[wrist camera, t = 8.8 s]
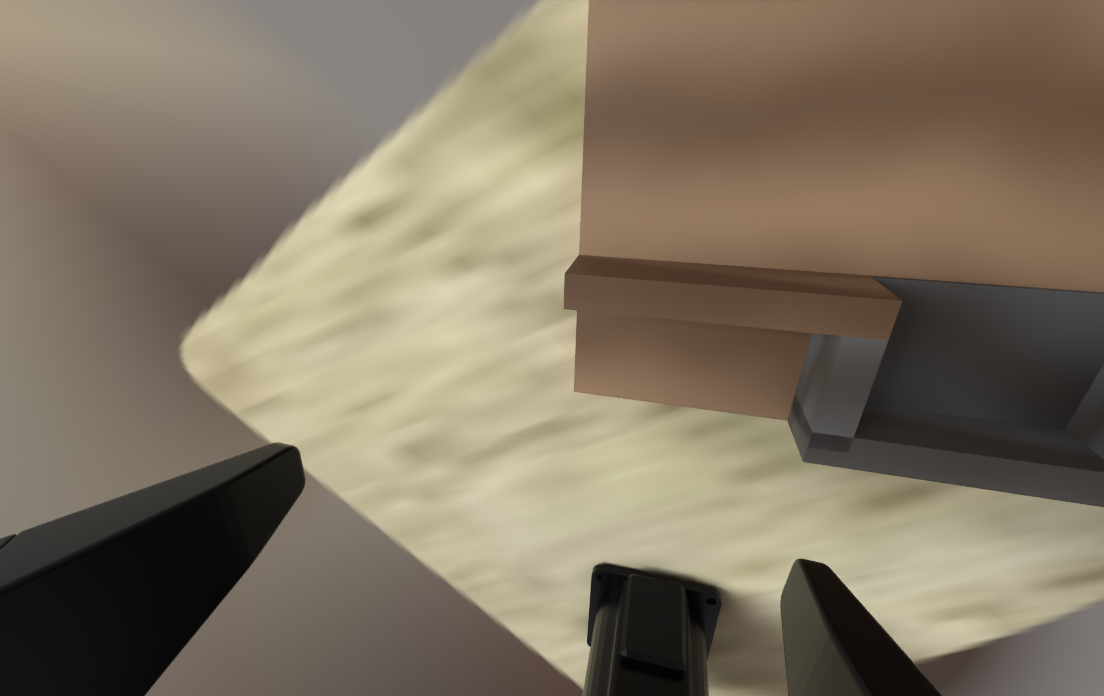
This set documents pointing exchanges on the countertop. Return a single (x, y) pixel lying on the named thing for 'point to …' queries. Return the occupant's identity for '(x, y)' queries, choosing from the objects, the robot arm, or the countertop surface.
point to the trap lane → (854, 228)
